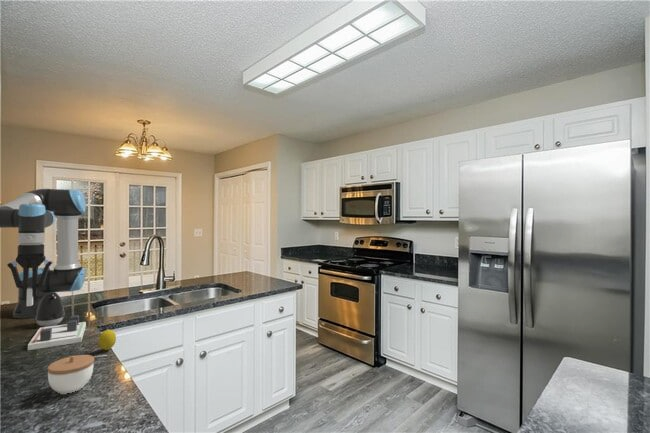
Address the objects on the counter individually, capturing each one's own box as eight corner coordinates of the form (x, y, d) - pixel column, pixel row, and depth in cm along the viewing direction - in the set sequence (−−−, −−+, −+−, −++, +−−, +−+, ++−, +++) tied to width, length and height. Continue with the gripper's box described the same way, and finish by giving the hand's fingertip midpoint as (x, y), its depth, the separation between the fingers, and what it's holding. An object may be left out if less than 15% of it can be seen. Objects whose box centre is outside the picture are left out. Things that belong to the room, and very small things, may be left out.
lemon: (113, 346, 124) (114, 325, 124) (117, 350, 120) (117, 329, 120) (96, 350, 120) (97, 329, 121) (99, 354, 116) (100, 333, 117)
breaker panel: (39, 332, 138) (40, 327, 138) (85, 326, 146) (86, 321, 147) (27, 350, 119) (27, 344, 119) (81, 341, 128) (81, 336, 128)
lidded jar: (40, 402, 86) (41, 367, 86) (55, 383, 96) (56, 352, 96) (88, 394, 91) (88, 361, 91) (97, 377, 100) (98, 347, 101)
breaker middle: (68, 329, 136) (68, 320, 136) (76, 327, 137) (77, 319, 137) (67, 331, 133) (67, 322, 133) (76, 330, 135) (76, 321, 135)
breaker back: (70, 323, 142) (70, 316, 142) (78, 322, 144) (79, 315, 144) (69, 325, 140) (69, 317, 140) (78, 324, 141) (78, 316, 141)
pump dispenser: (38, 330, 140) (39, 296, 140) (32, 325, 146) (33, 292, 147) (67, 324, 148) (68, 292, 148) (60, 320, 154) (61, 288, 155)
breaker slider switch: (41, 338, 125) (41, 329, 125) (51, 336, 127) (51, 328, 127) (40, 340, 122) (40, 331, 122) (50, 339, 124) (50, 330, 124)
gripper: (5, 245, 115) (3, 310, 115) (52, 244, 123) (50, 305, 123) (10, 243, 122) (8, 305, 121) (54, 242, 129) (53, 300, 129)
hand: (29, 305), depth 122 cm, fingers closed
